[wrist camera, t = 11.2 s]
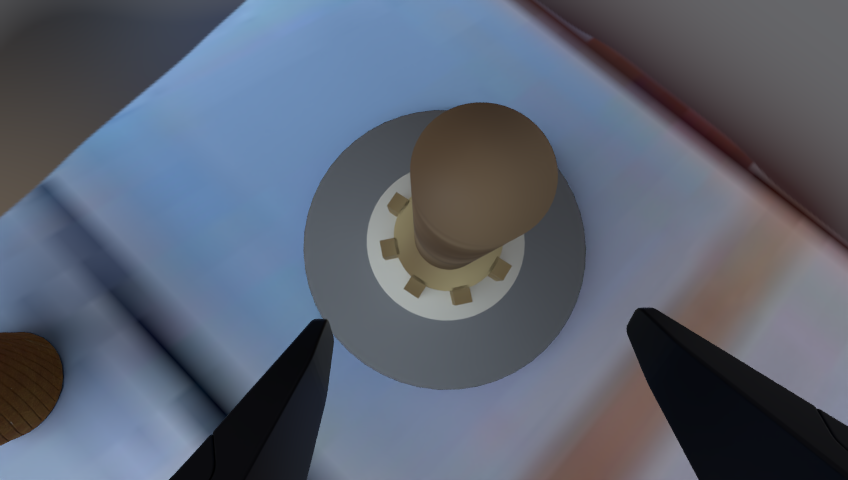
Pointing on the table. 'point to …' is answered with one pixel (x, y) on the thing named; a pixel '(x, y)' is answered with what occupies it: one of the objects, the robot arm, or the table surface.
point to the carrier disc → (433, 311)
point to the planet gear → (470, 197)
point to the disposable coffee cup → (26, 382)
